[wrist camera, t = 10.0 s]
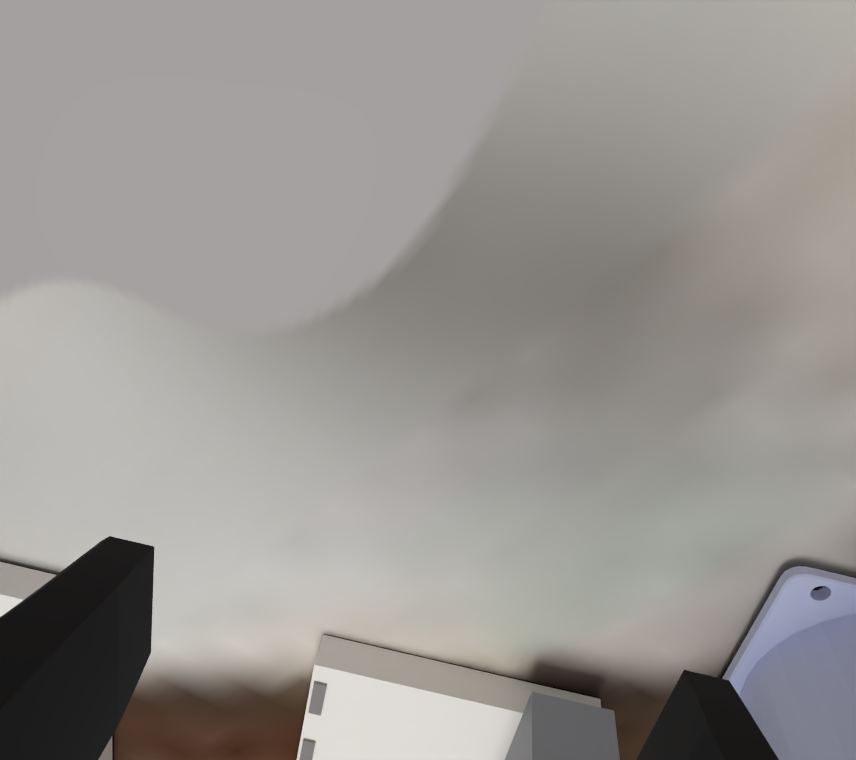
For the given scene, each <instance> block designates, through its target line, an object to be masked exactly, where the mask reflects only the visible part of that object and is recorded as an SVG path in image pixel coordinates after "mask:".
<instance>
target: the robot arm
mask: <svg viewBox="0 0 856 760" xmlns="http://www.w3.org/2000/svg"><path fill="white" fill-rule="evenodd" d="M153 568H154V547H153V546H149V545H145V544H140V543H136V542H132V541H128V540H123V539H119V538H115V537H108V538H106V539H104V540H102V541H101V542H99V543H98V544H97V545H96V546H94V547H93V548H92V549H90V550H89V551H88V552H86V553H85V554H84V555H82V556H81V557H80V558H79V559H77V560H76V561H75V562H73V563H72V564H71V565H69V566H68V567H67V568H66V569H64V570H63V571H62V572H60V573H59V574H58V575H56V576H55V577H54V578H52V579H51V580H50V581H48V582H47V583H46V584H44V585H43V586H42V587H40V588H39V589H38V590H36V591H35V592H34V593H32V594H31V595H30V596H28V597H27V598H26V599H24V600H23V601H22V602H20V603H19V604H18V605H16V606H15V607H14V608H12V609H11V610H9V611H8V612H7V613H5V614H4V615H2V616H1V617H0V760H98V759H99V758H100V756H101V754H102V753H103V751H104V749H105V747H106V746H107V744H108V742H109V740H110V739H111V737H112V735H113V733H114V732H115V730H116V728H117V727H118V724H119V722H120V720H121V718H122V716H123V714H124V711H125V709H126V707H127V705H128V703H129V701H130V698H131V696H132V694H133V692H134V690H135V687H136V685H137V683H138V680H139V678H140V676H141V674H142V671H143V669H144V667H145V665H146V662H147V660H148V658H149V655H150V653H151V629H152V598H153ZM818 586H824V587H823V588H822V589H819V590H813V589H814V588H815V587H818ZM636 760H856V578H853V577H849V576H845V575H840V574H836V573H832V572H828V571H823V570H819V569H815V568H810V567H805V566H797V567H792V568H790V569H788V570H786V571H785V572H784V573H783V574H782V575H781V576H780V578H779V580H778V582H777V583H776V585H775V587H774V589H773V590H772V592H771V594H770V596H769V597H768V599H767V601H766V603H765V604H764V606H763V608H762V610H761V611H760V613H759V615H758V617H757V618H756V620H755V622H754V624H753V625H752V627H751V629H750V631H749V632H748V634H747V636H746V638H745V639H744V641H743V643H742V645H741V646H740V648H739V650H738V652H737V653H736V655H735V657H734V659H733V660H732V662H731V664H730V666H729V667H728V669H727V671H726V673H725V674H724V676H723V678H722V679H721V678H716V677H712V676H708V675H703V674H699V673H695V672H690V671H686V670H684V671H683V673H682V675H681V677H680V679H679V680H678V682H677V684H676V686H675V688H674V690H673V692H672V694H671V695H670V697H669V699H668V701H667V703H666V705H665V707H664V709H663V711H662V712H661V714H660V716H659V718H658V720H657V722H656V724H655V726H654V727H653V729H652V731H651V733H650V735H649V737H648V739H647V741H646V743H645V744H644V746H643V748H642V750H641V752H640V754H639V756H638V758H637V759H636Z"/></svg>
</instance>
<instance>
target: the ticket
mask: <svg viewBox="0 0 856 760" xmlns="http://www.w3.org/2000/svg"><path fill="white" fill-rule="evenodd" d="M297 760H620V758H619V749H618V741H617V733H616V724H615V716H614V711H613V710H609V709H605V708H601V702H600V699H598V698H594V697H589V696H585V695H581V694H576V693H572V692H568V691H564V690H559V689H555V688H551V687H546V686H542V685H538V684H534V683H529V682H525V681H521V680H516V679H512V678H508V677H503V676H499V675H495V674H491V673H486V672H482V671H478V670H473V669H469V668H465V667H461V666H456V665H452V664H448V663H443V662H439V661H435V660H430V659H426V658H422V657H418V656H413V655H409V654H405V653H400V652H396V651H392V650H388V649H383V648H379V647H375V646H370V645H366V644H362V643H357V642H353V641H349V640H345V639H340V638H336V637H332V636H327V635H323V638H322V641H321V644H320V647H319V651H318V654H317V657H316V661H315V664H314V669H313V674H312V680H311V685H310V690H309V696H308V701H307V707H306V712H305V717H304V723H303V728H302V734H301V739H300V744H299V750H298V755H297Z"/></svg>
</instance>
